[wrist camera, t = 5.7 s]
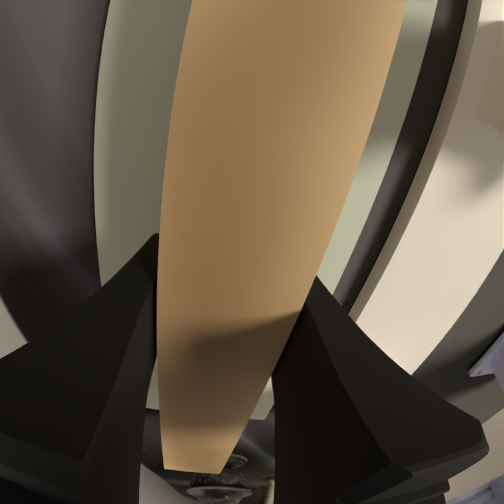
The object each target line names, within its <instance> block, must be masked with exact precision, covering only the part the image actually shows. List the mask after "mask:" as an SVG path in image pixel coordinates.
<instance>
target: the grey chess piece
mask: <svg viewBox="0 0 504 504" xmlns="http://www.w3.org/2000/svg"><path fill="white" fill-rule="evenodd" d="M246 463H247V458H246V457H244V456H242V455H239V454H234V453H231V455H230V456H229V458H228V460H227V462H226V464H225V466H224V467H223V469H222V471H221V473H220V474H211V473H198V472H197V473H196V474H195V475H194V476H193V478H192V480H191V482H190V488H188V489H187V490H186V492H187V493H188V494H190V495H193V496H195V497H197V498H198V499H199V500H200V503H201V504H239V501H240V500H241V499H242V498H244V497H247V496H250V495H251V494H252V491H251V490H249V489H248V482H247V480H246V478H245V477H244V476H243V475H242V474H241V473H240V472H239V471H237V470H233V469H237V468H240V467H242V466H243V465H245V464H246Z"/></svg>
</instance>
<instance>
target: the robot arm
mask: <svg viewBox="0 0 504 504" xmlns="http://www.w3.org/2000/svg"><path fill="white" fill-rule="evenodd" d="M158 252H159V233H155V234H153V235H152V236H151V237H150V238H149V239H148V240H147V241H146V242H145V244H144V245H143V246H142V247H141V248H140V249H139V250H138V251H137V252H136V253H135V255H134V256H133V257H132V258H131V259H130V260H129V261H128V262H127V263H126V264H125V265H124V266H123V267H122V268H121V269H120V270H119V271H118V272H117V273H116V274H115V275H114V276H113V277H112V278H111V279H110V280H109V281H107V282H106V283H105V284H104V285H103V286H102V287H101V288H100V289H99V290H98V291H97V292H96V293H94V294H93V295H92V296H91V297H90V298H89V299H87V300H86V301H85V302H84V303H83V304H82V305H80V306H79V307H78V308H77V309H75V310H74V311H73V312H71V313H70V314H69V315H68V316H66V317H65V318H64V319H62V320H61V321H59V322H58V323H57V324H55V325H54V326H52V327H51V328H50V329H48V330H47V331H45V332H44V333H42V334H41V335H40V336H38V337H37V338H35V339H33V340H32V341H30V342H28V343H27V344H25V345H23V346H22V347H20V348H19V349H17V350H15V351H14V352H12V353H10V354H8V355H6V356H4V357H3V358H1V359H0V504H139V481H140V464H141V450H142V439H143V429H144V420H145V412H146V404H147V396H148V390H149V385H150V381H151V377H152V373H153V369H154V365H155V361H156V357H157V278H158ZM492 373H494V375H495V377H496V379H497V381H498V383H499V385H500V387H501V389H502V392H503V394H504V332H503V333H502V334H501V335H500V337H499V338H498V339H497V340H496V341H495V343H494V344H493V345H492V346H491V347H490V348H489V350H488V351H487V352H486V353H485V354H484V355H483V356H482V358H481V359H480V360H479V361H478V362H477V363H476V364H475V365H474V366H473V367H472V368H471V369H470V371H469V375H470V376H471V377H474V376H480V375H486V374H492ZM271 382H272V389H273V397H274V408H275V485H274V503H273V504H504V473H503V474H501V475H500V476H497V477H496V478H494V479H492V480H491V481H490V482H488V483H486V484H484V485H482V486H480V487H478V488H476V489H474V490H472V491H470V492H468V493H466V494H464V495H461V496H459V497H457V498H454V499H452V500H450V501H448V502H446V501H445V497H444V493H446V492H448V491H449V489H450V486H449V483H448V479H450V478H451V477H453V476H455V475H457V474H458V473H460V472H462V471H464V470H465V469H467V468H468V467H470V466H472V465H473V464H475V463H476V462H478V461H480V460H481V459H482V458H484V457H485V456H486V455H487V454H488V452H489V450H490V449H489V446H488V443H487V440H486V437H485V434H484V431H483V428H482V426H481V423H480V421H479V420H478V419H476V418H475V417H473V416H471V415H469V414H468V413H466V412H464V411H462V410H461V409H459V408H457V407H456V406H454V405H452V404H450V403H449V402H447V401H446V400H444V399H443V398H441V397H440V396H438V395H437V394H435V393H434V392H433V391H431V390H430V389H428V388H427V387H425V386H424V385H423V384H421V383H420V382H419V381H417V380H416V379H415V378H414V377H412V376H411V375H410V374H409V373H408V372H406V371H405V370H404V369H403V368H402V367H400V366H399V365H398V364H397V363H396V362H394V361H393V360H392V359H391V358H390V357H389V356H388V355H387V354H386V353H385V352H383V351H382V350H381V349H380V348H379V347H378V346H377V345H376V344H375V343H374V342H373V341H372V340H371V339H370V338H369V337H368V336H367V335H366V334H365V333H364V332H363V331H362V330H361V328H360V327H359V326H358V325H357V324H356V323H355V322H354V321H353V319H352V318H351V317H350V316H349V315H348V314H347V313H346V311H345V310H344V309H343V308H342V307H341V305H340V304H339V303H338V302H337V301H336V299H335V298H334V297H333V296H332V294H331V293H330V292H329V291H328V289H327V288H326V287H325V285H324V284H323V283H322V282H321V280H320V279H319V278H318V276H317V275H316V276H315V279H314V281H313V283H312V286H311V288H310V291H309V293H308V295H307V298H306V300H305V302H304V304H303V307H302V309H301V311H300V314H299V316H298V318H297V320H296V323H295V325H294V327H293V329H292V331H291V334H290V336H289V338H288V340H287V342H286V345H285V347H284V349H283V351H282V353H281V355H280V357H279V360H278V362H277V364H276V366H275V368H274V370H273V372H272V374H271Z"/></svg>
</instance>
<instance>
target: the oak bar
mask: <svg viewBox="0 0 504 504" xmlns="http://www.w3.org/2000/svg"><path fill="white" fill-rule="evenodd" d="M406 3H407V0H192V4H191V9H190V13H189V17H188V22H187V27H186V32H185V36H184V41H183V47H182V52H181V57H180V63H179V68H178V74H177V80H176V86H175V92H174V99H173V105H172V112H171V120H170V127H169V135H168V143H167V152H166V161H165V170H164V181H163V192H162V204H161V218H160V233H159V252H158V278H157V369H158V394H159V412H160V427H161V439H162V451H163V461H164V469H171V470H179V471H188V472H198V473H211V474H220V473H221V471H222V469H223V467H224V466H225V464H226V462H227V460H228V458H229V456H230V455H231V453H232V451H233V449H234V447H235V445H236V443H237V442H238V440H239V438H240V436H241V434H242V432H243V430H244V428H245V426H246V424H247V422H248V421H249V419H250V417H251V415H252V413H253V411H254V409H255V407H256V405H257V403H258V401H259V399H260V397H261V395H262V393H263V391H264V389H265V387H266V385H267V383H268V381H269V378H270V376H271V374H272V372H273V370H274V368H275V366H276V364H277V362H278V360H279V357H280V355H281V353H282V351H283V349H284V347H285V345H286V342H287V340H288V338H289V336H290V334H291V331H292V329H293V327H294V325H295V323H296V320H297V318H298V316H299V314H300V311H301V309H302V307H303V304H304V302H305V300H306V298H307V295H308V293H309V291H310V288H311V286H312V283H313V281H314V279H315V276H316V274H317V272H318V269H319V267H320V264H321V262H322V259H323V257H324V254H325V252H326V250H327V247H328V245H329V242H330V240H331V237H332V234H333V232H334V229H335V227H336V224H337V222H338V219H339V216H340V214H341V211H342V209H343V206H344V203H345V201H346V198H347V195H348V192H349V190H350V187H351V184H352V181H353V179H354V176H355V173H356V170H357V168H358V165H359V162H360V159H361V156H362V153H363V150H364V147H365V144H366V141H367V138H368V135H369V132H370V129H371V126H372V123H373V120H374V117H375V114H376V111H377V108H378V105H379V101H380V98H381V95H382V92H383V88H384V85H385V82H386V78H387V75H388V71H389V68H390V64H391V61H392V57H393V54H394V50H395V47H396V43H397V39H398V35H399V32H400V28H401V24H402V20H403V16H404V12H405V8H406Z"/></svg>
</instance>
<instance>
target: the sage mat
mask: <svg viewBox="0 0 504 504" xmlns="http://www.w3.org/2000/svg"><path fill="white" fill-rule="evenodd" d="M437 1H438V0H407V3H406V8H405V12H404V16H403V20H402V24H401V28H400V32H399V35H398V39H397V43H396V47H395V50H394V54H393V57H392V61H391V64H390V68H389V71H388V75H387V78H386V82H385V85H384V88H383V92H382V95H381V98H380V101H379V105H378V108H377V111H376V114H375V117H374V120H373V123H372V126H371V129H370V132H369V135H368V138H367V141H366V144H365V147H364V150H363V153H362V156H361V159H360V162H359V165H358V168H357V170H356V173H355V176H354V179H353V181H352V184H351V187H350V190H349V192H348V195H347V198H346V201H345V203H344V206H343V209H342V211H341V214H340V216H339V219H338V222H337V224H336V227H335V229H334V232H333V234H332V237H331V240H330V242H329V245H328V247H327V250H326V252H325V254H324V257H323V259H322V262H321V264H320V267H319V269H318V272H317V274H316V275H317V276H318V278H319V279H320V280H321V282H322V283H323V284H324V285H325V287H326V288H327V289H328V291H329V292H330V293H331V294H333V292H334V290H335V288H336V286H337V284H338V282H339V280H340V278H341V275H342V273H343V271H344V269H345V267H346V265H347V263H348V260H349V258H350V256H351V254H352V251H353V249H354V247H355V245H356V242H357V240H358V238H359V236H360V233H361V231H362V229H363V226H364V224H365V222H366V219H367V217H368V215H369V212H370V210H371V207H372V205H373V202H374V200H375V197H376V195H377V192H378V190H379V187H380V185H381V182H382V180H383V177H384V175H385V172H386V169H387V167H388V164H389V161H390V159H391V156H392V153H393V151H394V148H395V145H396V142H397V139H398V137H399V134H400V131H401V128H402V125H403V122H404V119H405V116H406V113H407V110H408V107H409V104H410V101H411V98H412V94H413V91H414V88H415V85H416V81H417V78H418V75H419V71H420V68H421V64H422V61H423V57H424V54H425V50H426V46H427V42H428V39H429V35H430V31H431V27H432V23H433V18H434V14H435V10H436V5H437ZM191 4H192V0H111V1H110V6H109V11H108V16H107V21H106V27H105V33H104V39H103V46H102V53H101V61H100V69H99V78H98V88H97V100H96V115H95V136H94V201H95V222H96V238H97V250H98V261H99V271H100V279H101V287H102V286H103V285H104V284H105V283H106V282H107V281H109V280H110V279H111V278H112V277H113V276H114V275H115V274H116V273H117V272H118V271H119V270H120V269H121V268H122V267H123V266H124V265H125V264H126V263H127V262H128V261H129V260H130V259H131V258H132V257H133V256H134V255H135V253H136V252H137V251H138V250H139V249H140V248H141V247H142V246H143V245H144V244H145V242H146V241H147V240H148V239H149V238H150V237H151V236H152V235H153V234H155V233H160V218H161V204H162V192H163V181H164V170H165V161H166V152H167V143H168V135H169V127H170V120H171V112H172V105H173V99H174V92H175V86H176V80H177V74H178V68H179V63H180V57H181V52H182V47H183V41H184V36H185V32H186V27H187V22H188V17H189V13H190V9H191ZM273 405H274V397H273V389H272V382H271V376H270V378H269V381H268V383H267V385H266V387H265V389H264V391H263V393H262V395H261V397H260V399H259V401H258V403H257V405H256V407H255V409H254V411H253V413H252V415H251V417H250V419H265V418H266V416H267V415H268V413H269V411H270V410H271V408H272V406H273ZM146 408H151V409H157V410H159V394H158V369H157V357H156V361H155V365H154V369H153V373H152V377H151V381H150V385H149V390H148V396H147V404H146Z"/></svg>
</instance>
